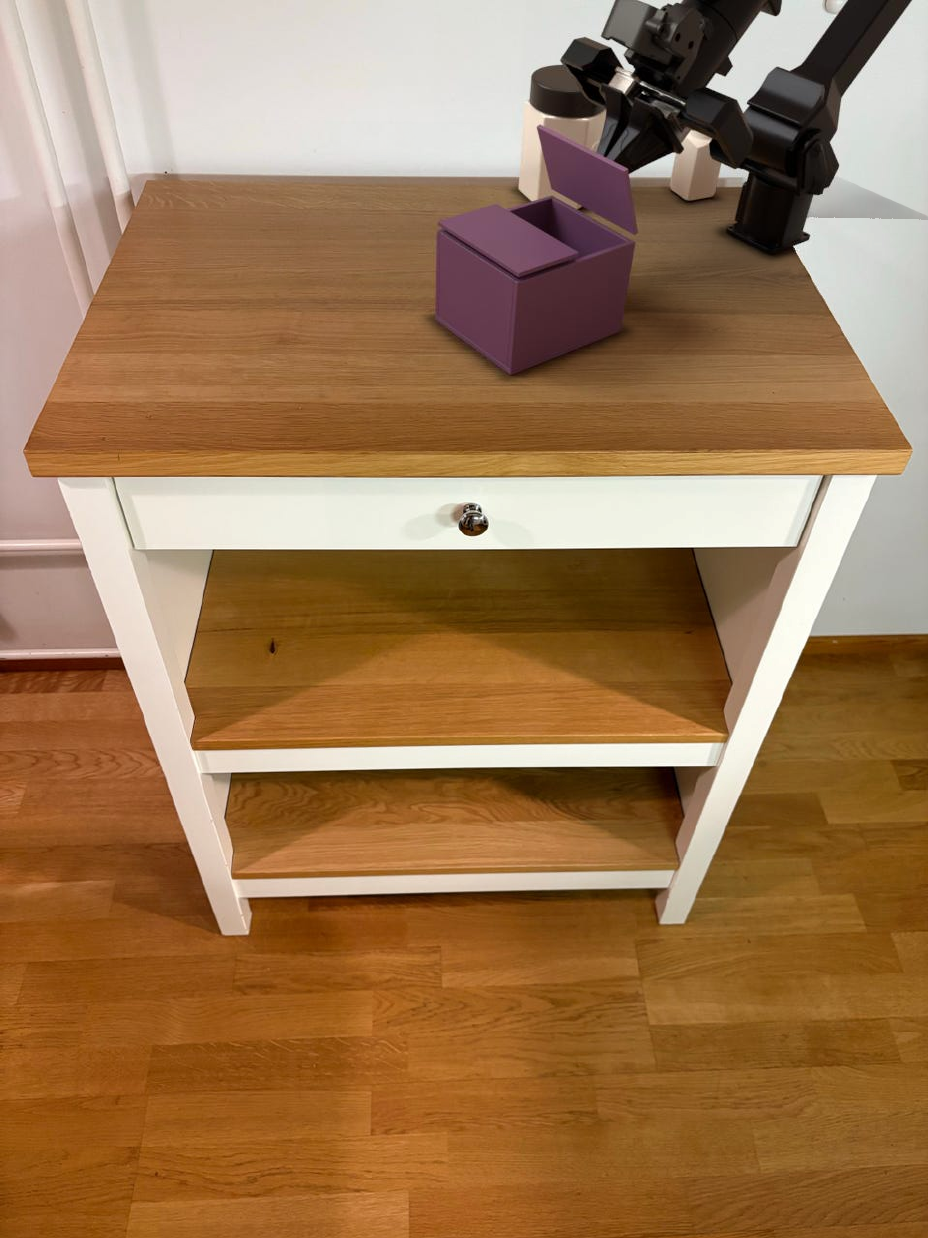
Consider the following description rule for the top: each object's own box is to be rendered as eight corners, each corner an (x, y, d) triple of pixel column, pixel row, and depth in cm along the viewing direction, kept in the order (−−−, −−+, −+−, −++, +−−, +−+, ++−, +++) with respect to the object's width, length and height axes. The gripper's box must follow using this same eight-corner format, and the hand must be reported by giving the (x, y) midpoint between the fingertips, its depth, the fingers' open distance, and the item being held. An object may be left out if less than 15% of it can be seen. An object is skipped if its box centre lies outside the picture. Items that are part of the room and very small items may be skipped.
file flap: (551, 189, 89) (554, 186, 89) (634, 235, 83) (638, 232, 83) (536, 126, 84) (539, 123, 84) (624, 171, 78) (628, 168, 78)
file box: (543, 282, 96) (552, 186, 89) (620, 331, 90) (637, 232, 83) (435, 320, 90) (436, 220, 83) (510, 375, 84) (518, 273, 78)
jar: (568, 218, 106) (582, 98, 97) (505, 196, 109) (513, 78, 100) (610, 191, 111) (626, 75, 102) (549, 171, 114) (560, 57, 105)
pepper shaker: (666, 188, 112) (683, 99, 105) (695, 183, 113) (714, 95, 106) (686, 203, 109) (704, 112, 103) (716, 198, 111) (736, 107, 104)
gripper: (591, -77, 80) (476, 94, 83) (767, -20, 70) (630, 172, 73) (643, 19, 89) (538, 170, 92) (806, 82, 79) (682, 248, 82)
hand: (591, 187), depth 84 cm, fingers closed, pressing on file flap
